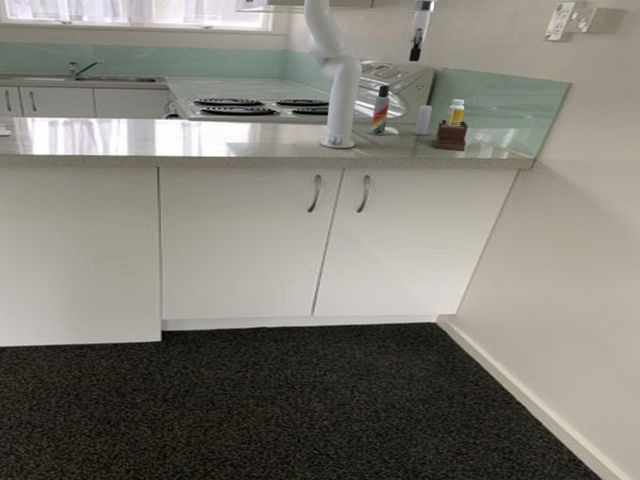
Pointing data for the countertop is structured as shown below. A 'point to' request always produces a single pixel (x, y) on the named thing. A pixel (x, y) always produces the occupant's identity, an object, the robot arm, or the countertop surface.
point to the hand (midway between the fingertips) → (414, 60)
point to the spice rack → (451, 136)
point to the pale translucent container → (423, 120)
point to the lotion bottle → (380, 111)
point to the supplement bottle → (455, 113)
